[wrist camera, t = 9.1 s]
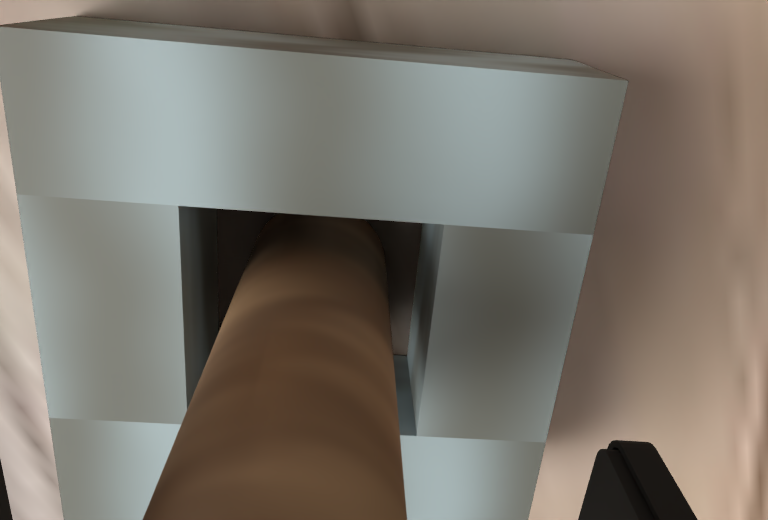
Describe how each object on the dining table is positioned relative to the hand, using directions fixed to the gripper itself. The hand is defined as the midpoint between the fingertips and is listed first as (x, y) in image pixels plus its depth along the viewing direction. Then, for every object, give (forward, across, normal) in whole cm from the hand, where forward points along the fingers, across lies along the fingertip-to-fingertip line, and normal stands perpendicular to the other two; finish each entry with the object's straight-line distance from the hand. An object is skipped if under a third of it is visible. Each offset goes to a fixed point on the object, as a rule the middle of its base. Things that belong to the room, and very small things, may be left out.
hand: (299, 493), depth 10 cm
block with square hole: (+10, 0, +1) cm, 10 cm away
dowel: (+10, 0, +1) cm, 10 cm away
